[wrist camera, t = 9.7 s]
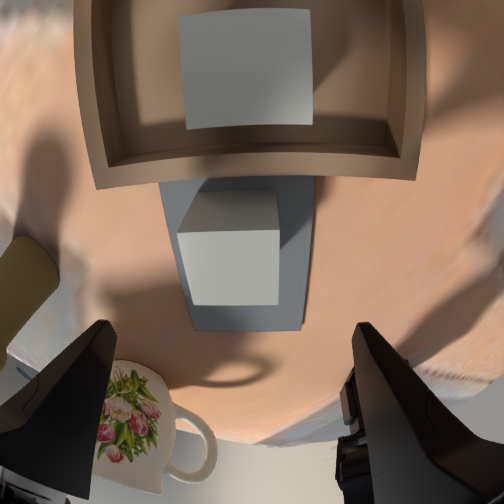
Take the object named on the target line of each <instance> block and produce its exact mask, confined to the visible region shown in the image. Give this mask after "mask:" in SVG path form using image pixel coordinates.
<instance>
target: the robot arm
mask: <svg viewBox="0 0 504 504" xmlns="http://www.w3.org/2000/svg"><path fill="white" fill-rule="evenodd" d="M116 341H117V335H116V332H115V331H114V329H113V327H112V325H111V324H110V322H109V321H108V320H102V319H99V320H97V321H96V322H95V323H94V324H93V325H91V326H90V327H89V328H88V329H87V330H86V331H85V332H83V333H82V334H81V335H80V336H79V337H78V338H77V339H76V340H74V341H73V342H72V343H71V344H70V345H69V346H68V347H67V348H65V349H64V350H63V351H62V352H61V353H60V354H59V355H58V356H57V357H56V358H54V359H53V360H52V361H51V362H50V363H49V364H48V365H47V366H46V367H45V368H44V369H43V370H42V371H41V372H40V373H39V374H37V375H36V376H35V377H34V378H33V379H32V380H31V381H30V382H29V383H28V384H27V385H26V386H24V387H23V388H22V389H21V390H20V391H18V392H17V393H16V394H15V395H13V396H12V397H11V398H10V399H9V400H7V401H6V402H5V403H4V404H2V405H1V406H0V504H71V503H70V501H69V500H68V498H66V495H67V494H69V495H72V496H76V497H79V498H82V499H86V500H89V494H90V483H91V475H92V467H93V459H94V453H95V447H96V441H97V435H98V430H99V424H100V419H101V414H102V410H103V405H104V401H105V396H106V392H107V388H108V384H109V380H110V375H111V371H112V365H113V358H114V352H115V347H116ZM352 348H353V357H354V367H355V368H354V369H352V371H351V373H350V375H349V377H348V379H347V381H346V383H345V384H344V386H343V388H342V390H341V392H340V399H341V405H342V412H343V419H344V424H345V425H349V426H350V433H351V435H349V436H342V437H339V438H338V445H337V459H336V474H335V479H336V480H337V482H338V486H339V488H340V489H341V490H342V491H343V495H344V504H504V444H500V443H496V442H492V441H488V440H484V439H482V438H480V437H478V436H476V435H475V434H474V433H473V432H471V431H470V430H469V429H468V428H467V427H466V426H465V425H464V424H463V423H462V422H461V421H460V420H459V419H458V418H457V417H456V416H455V415H453V414H452V413H451V412H450V411H449V410H448V409H447V408H446V407H445V406H444V405H443V403H442V402H441V401H440V400H439V399H438V398H437V397H436V396H435V394H434V393H433V392H432V391H431V390H430V389H429V388H428V387H427V385H426V384H425V383H424V382H423V381H422V380H421V378H420V377H419V376H418V375H417V374H416V373H415V372H414V371H413V369H412V368H411V367H410V366H409V362H408V360H404V359H403V358H402V357H401V356H400V355H399V354H398V353H397V352H396V351H395V349H394V348H393V347H392V346H391V345H390V344H389V343H388V342H387V341H386V340H385V338H384V337H383V336H382V335H381V334H380V333H379V332H378V331H377V330H376V329H375V328H374V327H373V326H372V324H371V323H369V322H359V323H357V325H356V328H355V331H354V334H353V337H352Z"/></svg>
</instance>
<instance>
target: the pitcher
mask: <svg viewBox="0 0 504 504" xmlns="http://www.w3.org/2000/svg"><path fill="white" fill-rule="evenodd" d="M176 418H179V419H182V420H184V421H186V422H188V423H189V424H190V425H192V426H193V427H194V428H195V429H196V430H197V431H198V432H199V433H200V434H201V436H202V437H203V439H204V441H205V444H206V459H205V461H204V464H203V466H202V467H201V468H200V470H198V471H197V472H194V473H187V472H183V471H181V470H179V469H178V468H176V467H175V466H174V464H173V463H172V462H171V459H170V458H171V455H172V452H173V448H174V442H175V432H176V427H175V419H176ZM217 453H218V452H217V442H216V438H215V436H214V433H213V431H212V430H211V429H210V427H209V426H208V425H207V424H206V422H205V421H204V420H202V419H201V418H200V417H199V416H198V415H196V414H194V413H193V412H191V411H189V410H187V409H185V408H183V407H181V406H179V405H177V404H175V403H174V402H173V401H172V399H171V396H170V393H169V390H168V388H167V386H166V385H165V381H164V380H163V378H162V377H161V376H160V375H159V374H157V373H156V372H154V371H153V370H151V369H149V368H147V367H145V366H143V365H141V364H138V363H135V362H131V361H126V360H115V361H113V365H112V371H111V375H110V380H109V384H108V388H107V392H106V396H105V401H104V405H103V410H102V414H101V419H100V424H99V430H98V435H97V441H96V447H95V453H94V459H93V467H92V475H91V476H93V477H96V478H100V479H103V480H106V481H109V482H112V483H116V484H119V485H122V486H125V487H129V488H132V489H136V490H139V491H143V492H147V493H151V494H155V495H160V496H163V486H162V475H163V474H168V475H170V476H172V477H173V478H175V479H177V480H179V481H182V482H185V483H198V482H201V481H203V480H205V479H206V478H208V476H209V475H210V474H211V473H212V471H213V469H214V467H215V464H216V461H217Z"/></svg>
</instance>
